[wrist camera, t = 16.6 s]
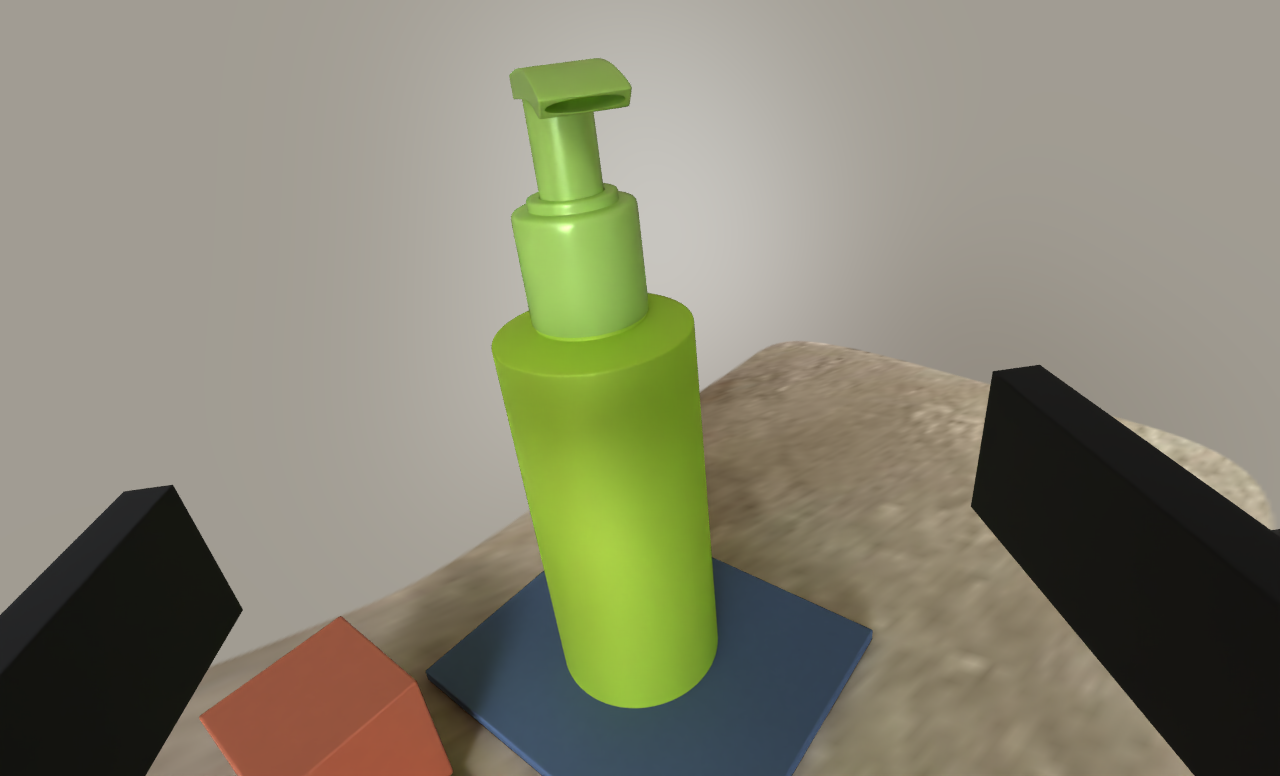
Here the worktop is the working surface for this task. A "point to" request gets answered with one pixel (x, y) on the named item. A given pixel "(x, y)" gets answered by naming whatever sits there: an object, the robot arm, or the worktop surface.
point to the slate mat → (677, 730)
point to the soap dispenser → (605, 412)
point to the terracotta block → (329, 714)
